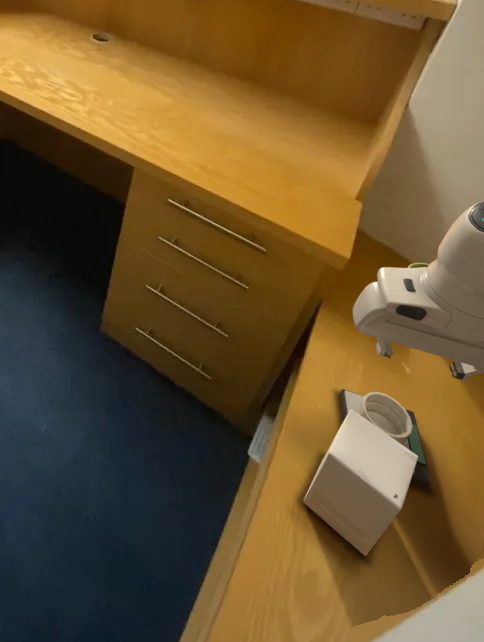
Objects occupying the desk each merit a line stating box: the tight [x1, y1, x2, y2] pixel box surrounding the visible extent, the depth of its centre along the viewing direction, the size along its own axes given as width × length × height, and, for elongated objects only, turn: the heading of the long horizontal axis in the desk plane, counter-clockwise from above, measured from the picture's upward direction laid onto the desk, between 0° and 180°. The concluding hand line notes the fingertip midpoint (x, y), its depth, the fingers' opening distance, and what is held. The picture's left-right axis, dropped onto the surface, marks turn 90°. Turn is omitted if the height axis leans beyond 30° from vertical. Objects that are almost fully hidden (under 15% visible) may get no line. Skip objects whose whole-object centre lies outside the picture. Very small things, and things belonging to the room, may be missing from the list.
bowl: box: [356, 391, 413, 445], centre depth 83 cm, size 7×7×4 cm
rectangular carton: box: [303, 409, 418, 557], centre depth 74 cm, size 9×9×15 cm
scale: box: [338, 388, 433, 490], centre depth 84 cm, size 11×11×3 cm
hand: (418, 363), depth 75 cm, fingers open, 8 cm apart
